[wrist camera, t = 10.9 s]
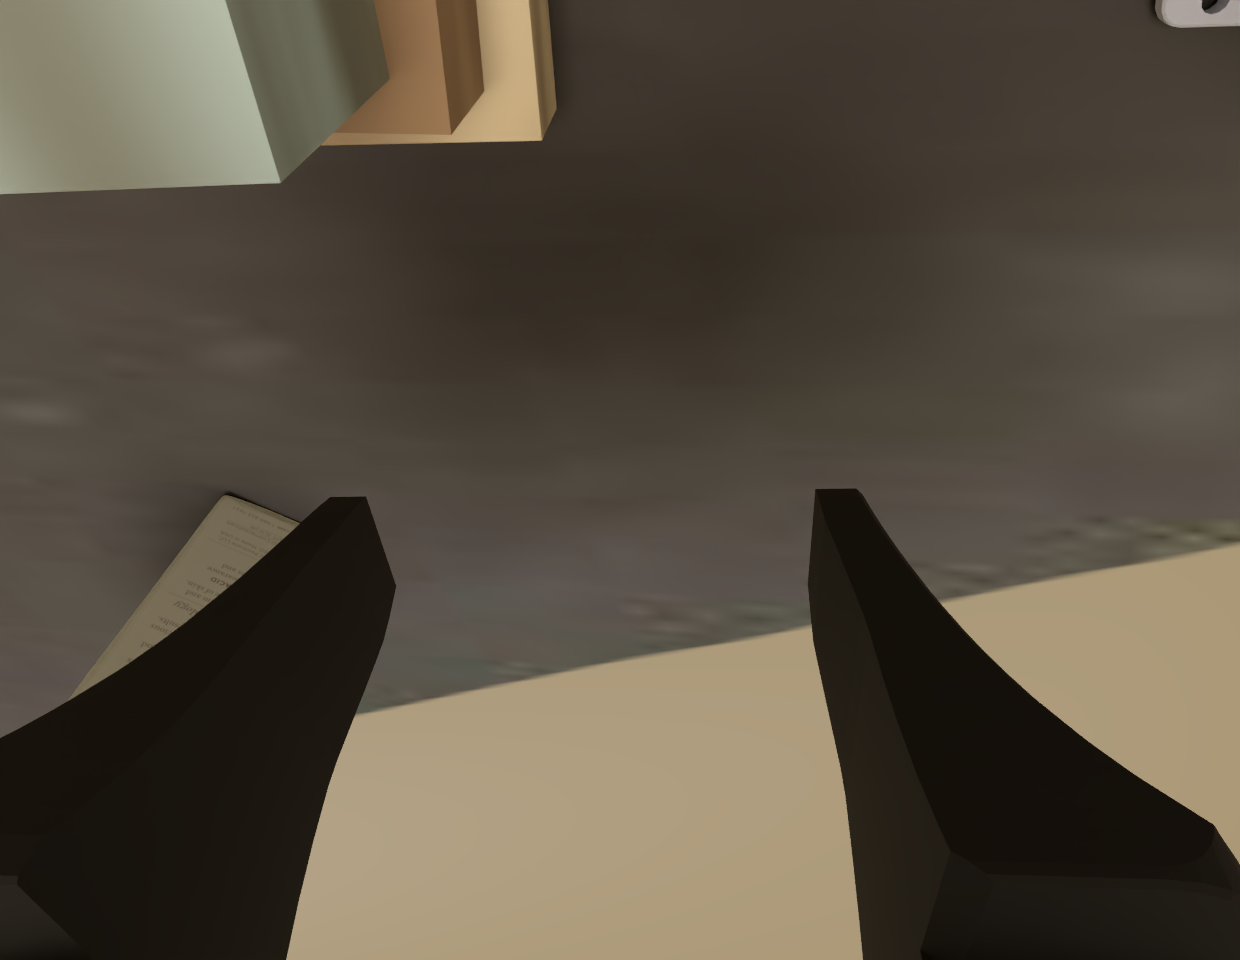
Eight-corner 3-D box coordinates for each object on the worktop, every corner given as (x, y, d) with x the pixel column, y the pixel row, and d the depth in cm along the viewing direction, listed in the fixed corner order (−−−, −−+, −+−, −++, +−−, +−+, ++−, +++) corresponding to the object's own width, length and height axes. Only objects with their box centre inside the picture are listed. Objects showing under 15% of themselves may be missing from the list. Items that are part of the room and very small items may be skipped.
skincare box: (301, 640, 32) (133, 995, 22) (180, 594, 31) (-52, 947, 21) (350, 535, 28) (177, 901, 19) (216, 479, 27) (-42, 838, 18)
